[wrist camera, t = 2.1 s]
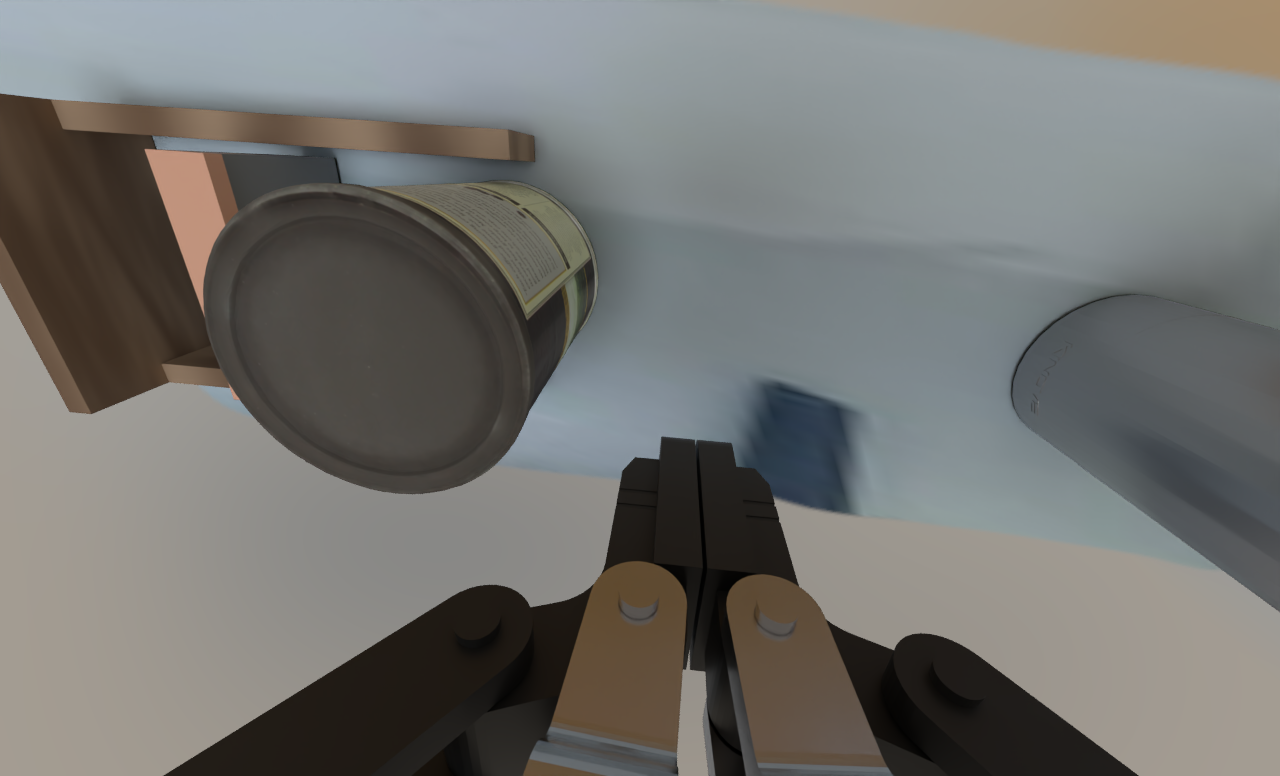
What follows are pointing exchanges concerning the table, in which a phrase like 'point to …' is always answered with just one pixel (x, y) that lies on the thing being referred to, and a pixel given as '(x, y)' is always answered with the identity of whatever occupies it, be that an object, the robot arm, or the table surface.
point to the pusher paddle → (222, 193)
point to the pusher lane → (141, 231)
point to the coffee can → (397, 322)
